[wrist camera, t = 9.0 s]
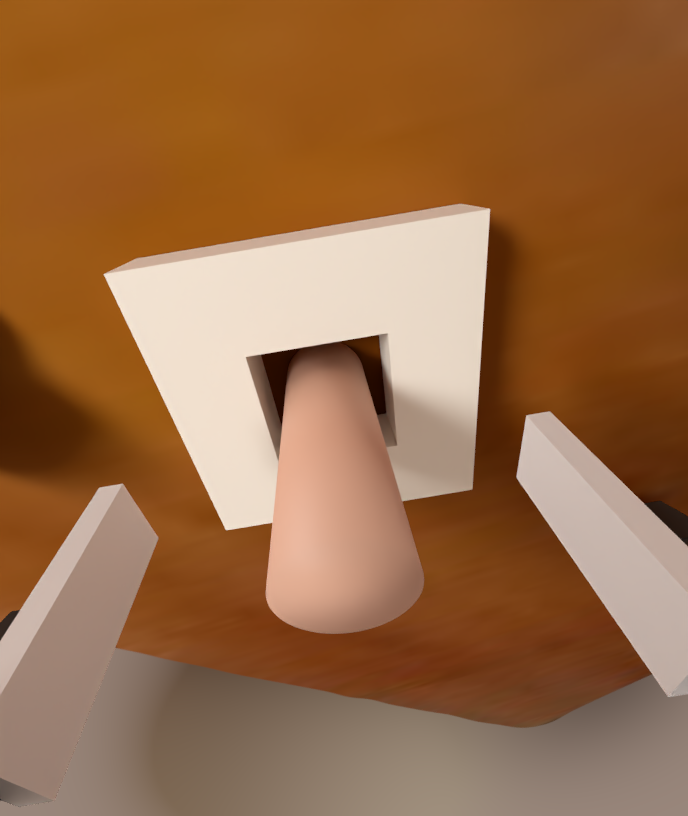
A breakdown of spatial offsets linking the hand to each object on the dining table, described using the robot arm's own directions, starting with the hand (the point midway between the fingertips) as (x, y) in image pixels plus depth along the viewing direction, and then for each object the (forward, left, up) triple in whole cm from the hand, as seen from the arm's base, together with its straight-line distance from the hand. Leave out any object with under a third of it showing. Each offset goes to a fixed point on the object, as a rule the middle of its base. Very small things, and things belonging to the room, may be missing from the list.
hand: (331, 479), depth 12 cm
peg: (0, 0, -8) cm, 8 cm away
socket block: (0, 0, -8) cm, 8 cm away
